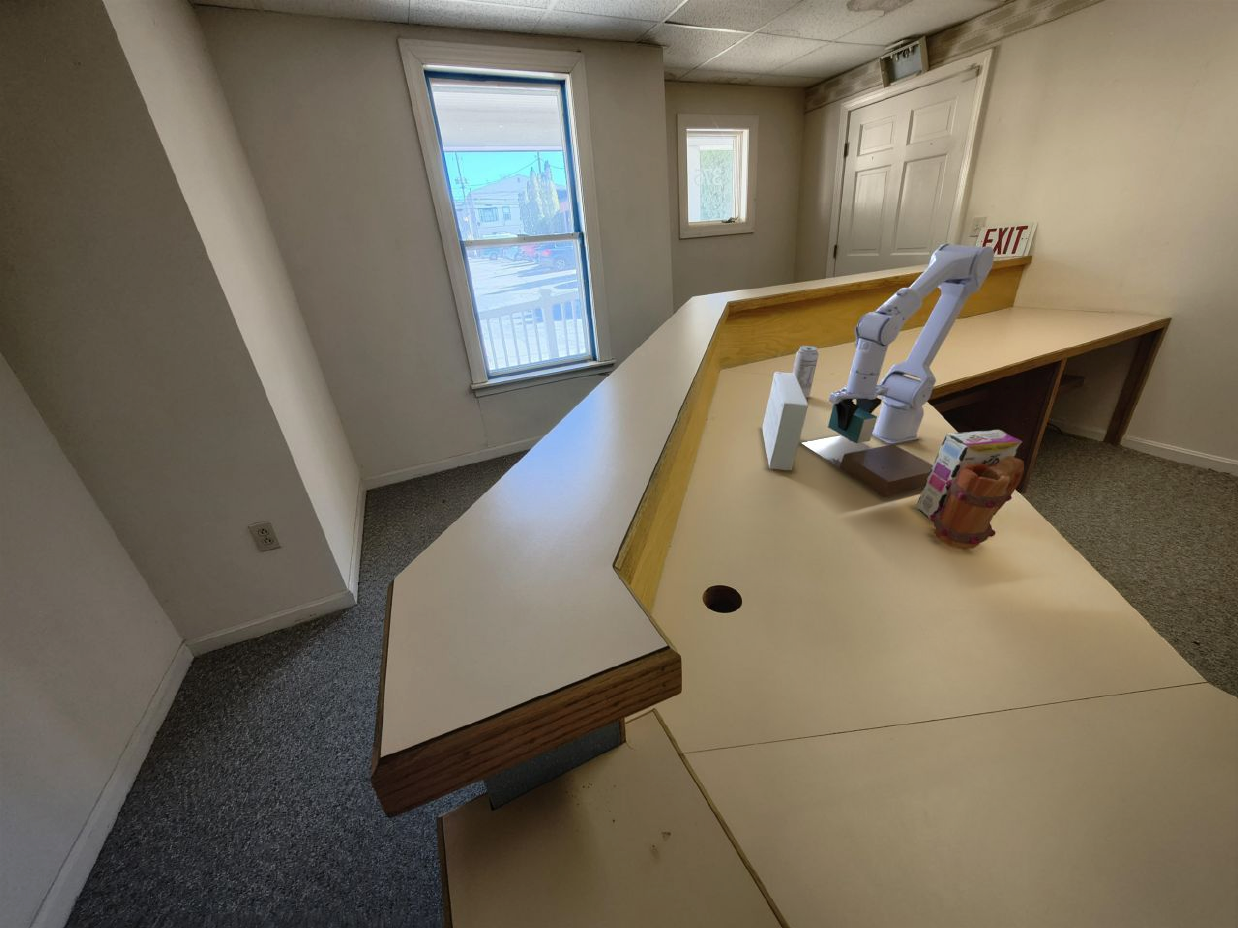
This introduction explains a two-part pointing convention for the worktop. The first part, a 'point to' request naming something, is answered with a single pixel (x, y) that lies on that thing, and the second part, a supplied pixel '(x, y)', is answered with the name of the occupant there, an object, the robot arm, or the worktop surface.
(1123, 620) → the worktop surface
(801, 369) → the energy drink can
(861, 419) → the teal box
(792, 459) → the skincare box
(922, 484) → the step shelf
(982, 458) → the candy bar box
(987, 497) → the mug
